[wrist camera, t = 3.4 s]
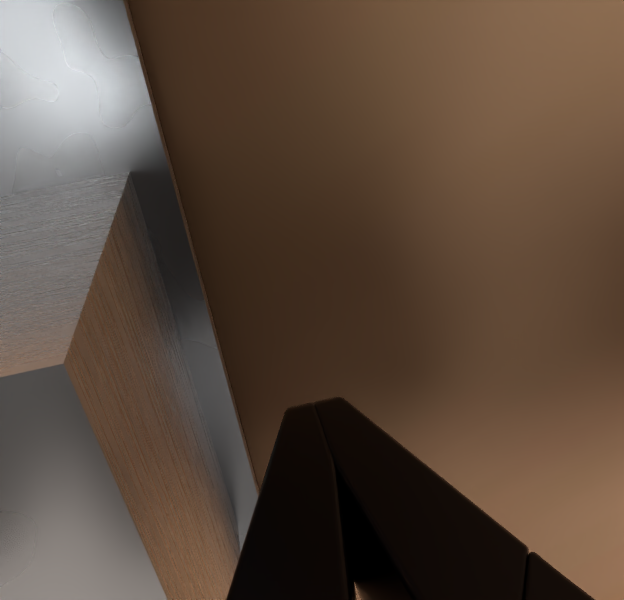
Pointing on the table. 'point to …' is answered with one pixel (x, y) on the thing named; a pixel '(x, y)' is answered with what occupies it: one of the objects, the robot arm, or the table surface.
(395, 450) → the robot arm
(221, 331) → the table surface
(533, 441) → the table surface
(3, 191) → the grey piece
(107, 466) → the block
